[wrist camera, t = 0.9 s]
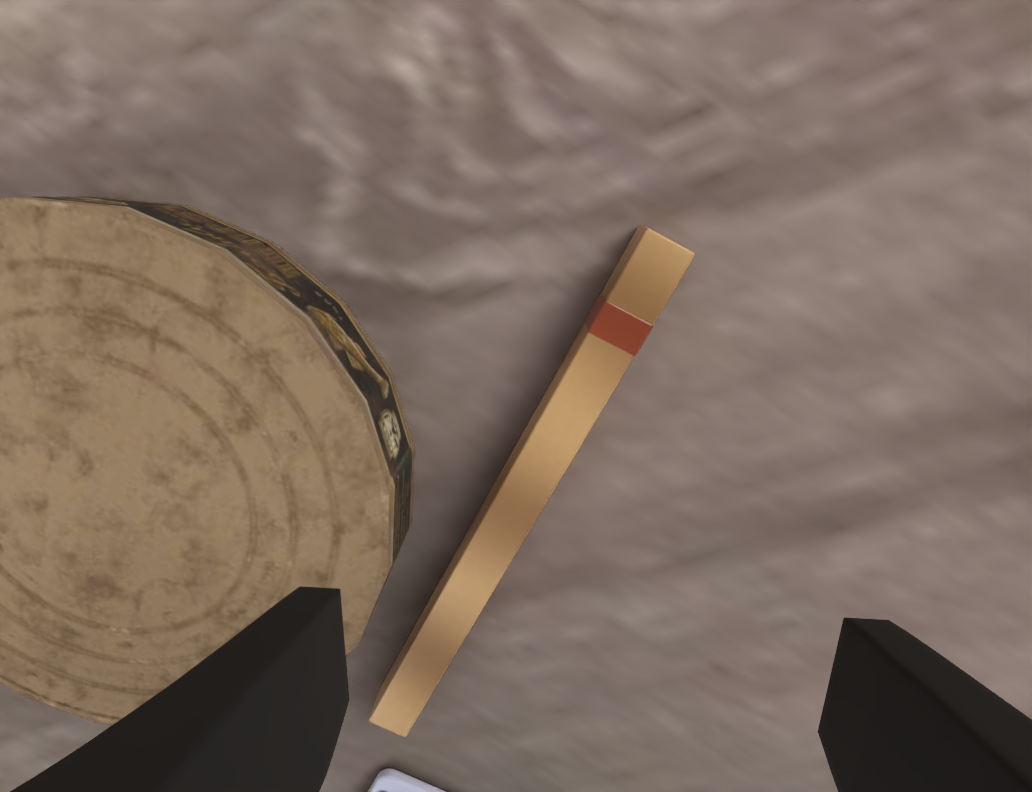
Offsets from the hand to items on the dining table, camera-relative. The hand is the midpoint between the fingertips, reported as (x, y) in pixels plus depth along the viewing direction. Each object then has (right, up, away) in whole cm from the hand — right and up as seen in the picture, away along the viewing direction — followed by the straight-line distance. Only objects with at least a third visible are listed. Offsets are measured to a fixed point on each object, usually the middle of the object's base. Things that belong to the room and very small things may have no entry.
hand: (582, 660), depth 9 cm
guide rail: (-1, +1, +10) cm, 10 cm away
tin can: (-12, +2, +11) cm, 16 cm away
